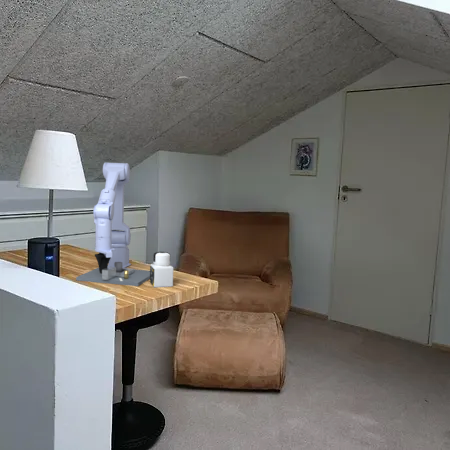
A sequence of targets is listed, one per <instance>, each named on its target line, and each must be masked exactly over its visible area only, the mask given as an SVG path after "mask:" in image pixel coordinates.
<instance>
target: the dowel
mask: <svg viewBox="0 0 450 450" xmlns="http://www.w3.org/2000/svg"><path fill="white" fill-rule="evenodd" d="M128 277H129V271H128V270H124V279H128Z"/></svg>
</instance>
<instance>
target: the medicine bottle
mask: <svg viewBox="0 0 450 450" xmlns="http://www.w3.org/2000/svg"><path fill="white" fill-rule="evenodd" d="M152 258H153V263H151V264H150V265H149V271H150V279H149V283H150V285H151V286H152V287H153V288H166V287H167V288H169V287H173V286H174V267H173V265H171V254H170V252H168V251H156V252H154V253H153V257H152Z"/></svg>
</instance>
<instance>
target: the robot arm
mask: <svg viewBox="0 0 450 450" xmlns="http://www.w3.org/2000/svg"><path fill="white" fill-rule="evenodd" d="M130 173H131V171H130V164H129V163H127V162H107V161H106V162H105V161H104V163H103V165H102V175H103V177H104V179H105V185H104V188H103V189H102V190H100V194H99V196H98V197H99V198H98V201H97V203H96V204H94V206H93V212H92V213H93V221H94V225H95V241H94V242H95V244H94V252H97V253H96V254H94V257H95V259H96V261H97V264H98V268H99V271H100V273H101V274H102V270H103V269H105V268H107V267H110V266H112V267H114V263H115V262H123V265H122V268H128V267H129V266H131V265H132V263H131V262H130V248H129V247H128V246H129V245H130V244H131V228H130V226H129V225H127V224H126V223H125V222H124V219H125V216H124V215H125V210H124V209H125V187H126V184H128V183H130V180H131V179H130Z"/></svg>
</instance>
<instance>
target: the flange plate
mask: <svg viewBox="0 0 450 450" xmlns="http://www.w3.org/2000/svg"><path fill="white" fill-rule="evenodd" d="M124 270H128V271H129V274H131V273H133V272H134V270H135V268H129V267H125V268H122V272H116V267H112V266H110V267H108V268H105V269H103V270H102V279H104V280H109V279H111V278H113V277H115V276H119V277H124Z"/></svg>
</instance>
